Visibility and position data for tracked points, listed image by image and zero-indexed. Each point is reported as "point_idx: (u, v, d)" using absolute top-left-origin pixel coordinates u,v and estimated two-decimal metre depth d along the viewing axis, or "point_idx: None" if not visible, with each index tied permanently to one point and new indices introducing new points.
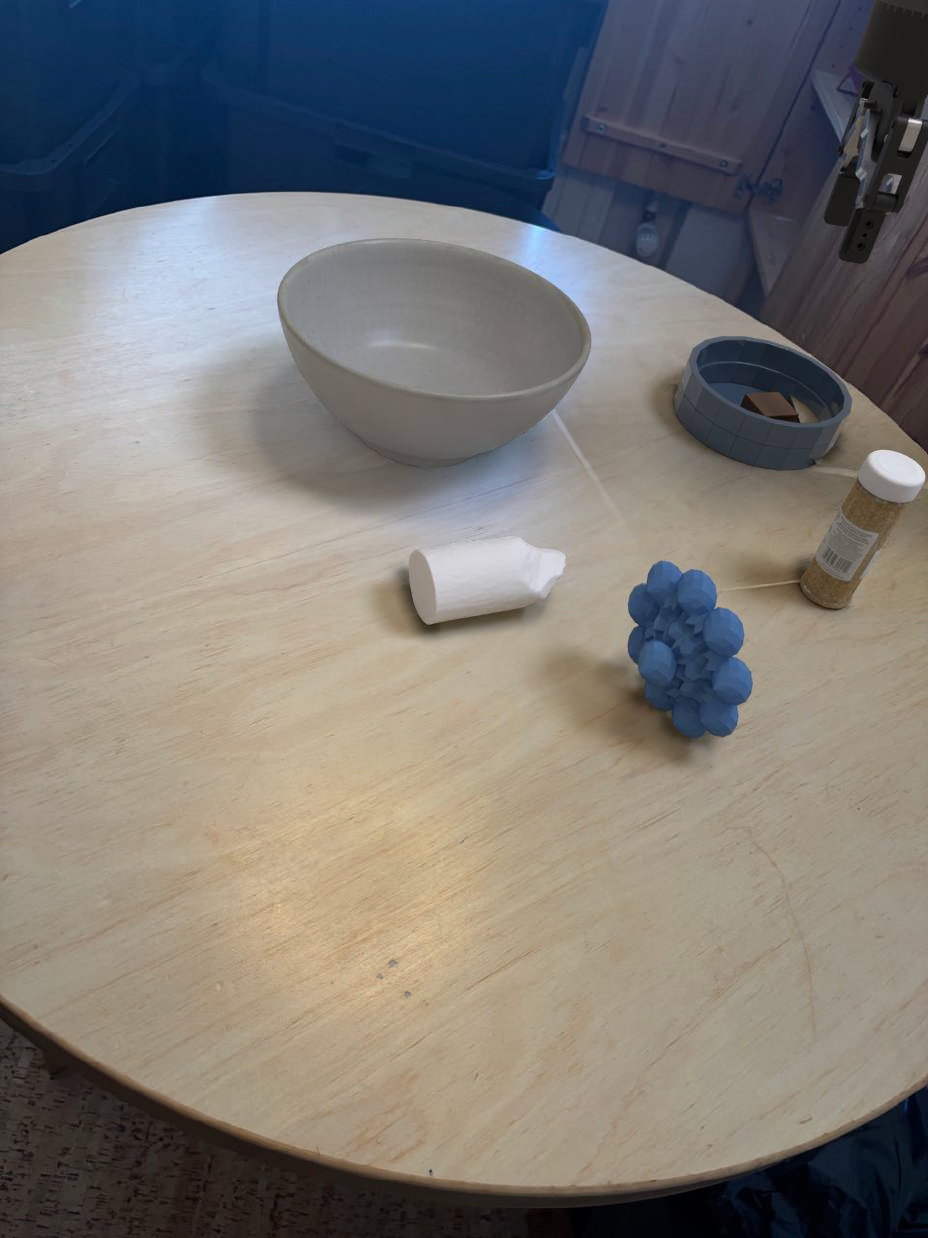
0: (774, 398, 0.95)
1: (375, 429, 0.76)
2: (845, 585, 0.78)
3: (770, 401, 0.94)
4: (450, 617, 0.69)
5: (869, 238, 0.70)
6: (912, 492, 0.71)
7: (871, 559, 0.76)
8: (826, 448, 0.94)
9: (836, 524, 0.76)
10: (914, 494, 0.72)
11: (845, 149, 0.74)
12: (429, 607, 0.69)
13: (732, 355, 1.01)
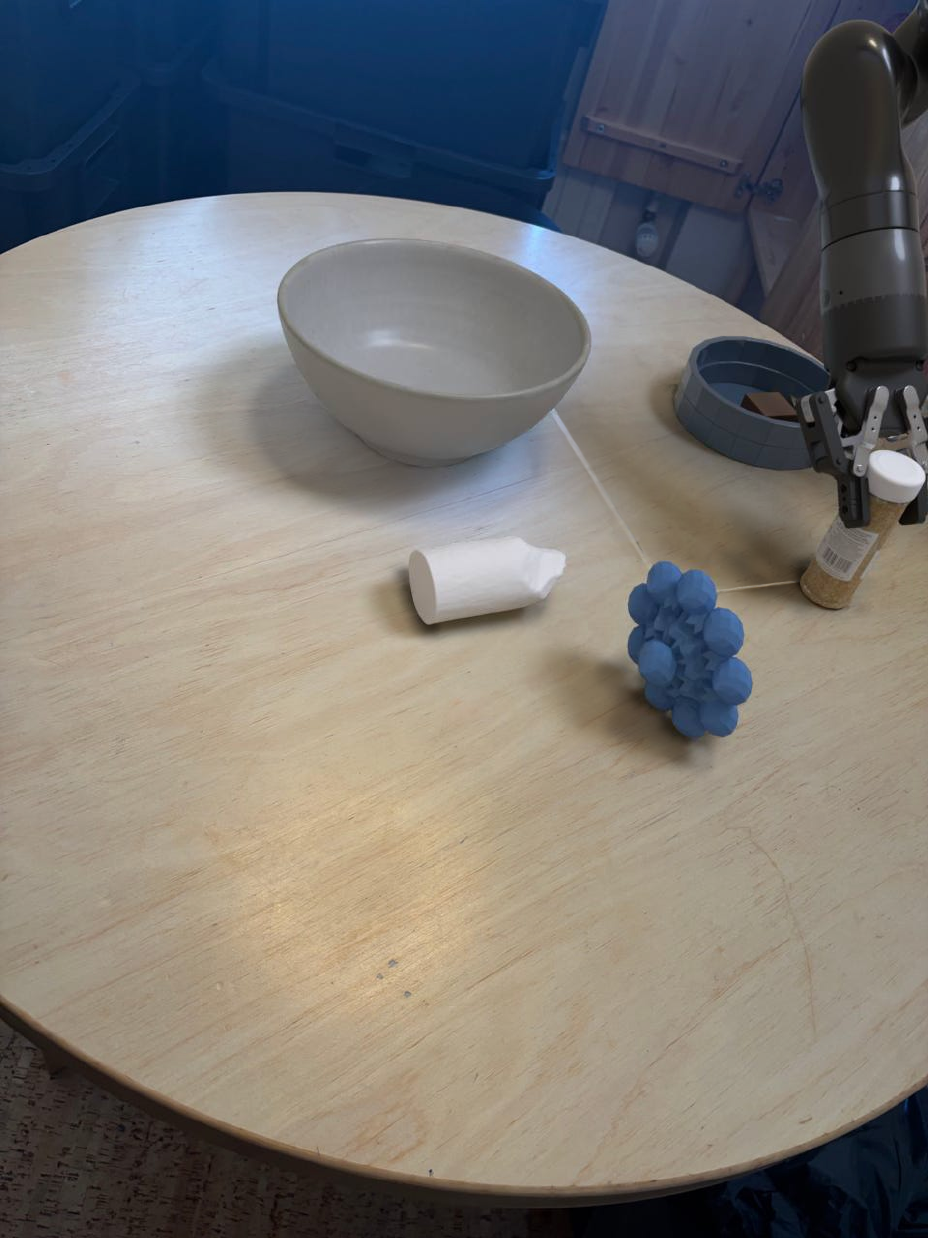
0: (774, 398, 0.95)
1: (375, 429, 0.76)
2: (845, 586, 0.78)
3: (770, 401, 0.94)
4: (450, 617, 0.69)
5: (848, 500, 0.72)
6: (912, 492, 0.71)
7: (871, 559, 0.76)
8: None
9: (836, 524, 0.76)
10: (914, 494, 0.72)
11: (885, 447, 0.76)
12: (430, 607, 0.69)
13: (732, 355, 1.01)
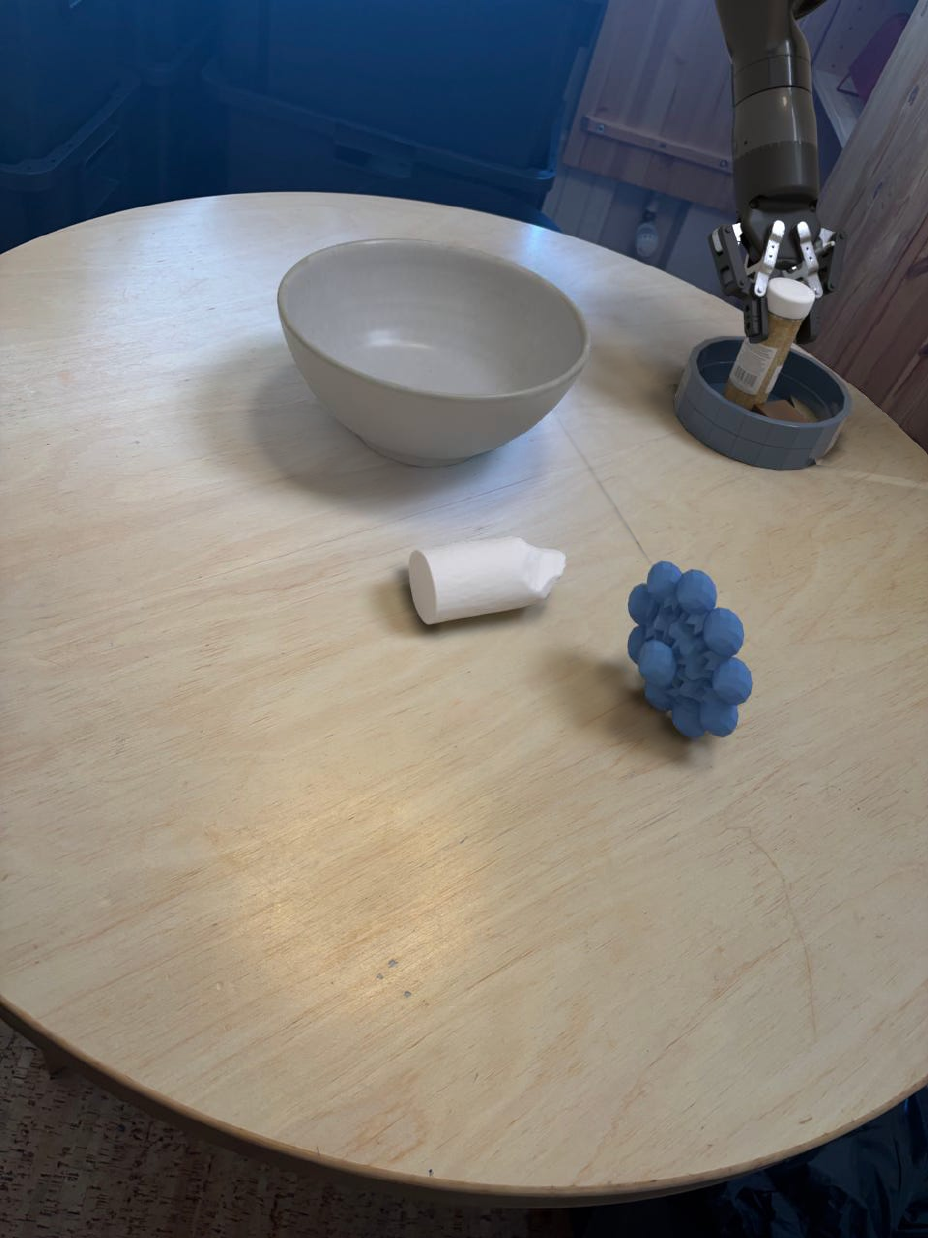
0: (783, 407, 0.94)
1: (375, 429, 0.76)
2: (753, 399, 0.93)
3: (779, 410, 0.93)
4: (450, 617, 0.69)
5: (750, 317, 0.87)
6: (802, 309, 0.86)
7: (773, 374, 0.91)
8: (826, 448, 0.94)
9: (744, 344, 0.91)
10: (805, 311, 0.86)
11: None
12: (430, 607, 0.69)
13: (732, 355, 1.01)
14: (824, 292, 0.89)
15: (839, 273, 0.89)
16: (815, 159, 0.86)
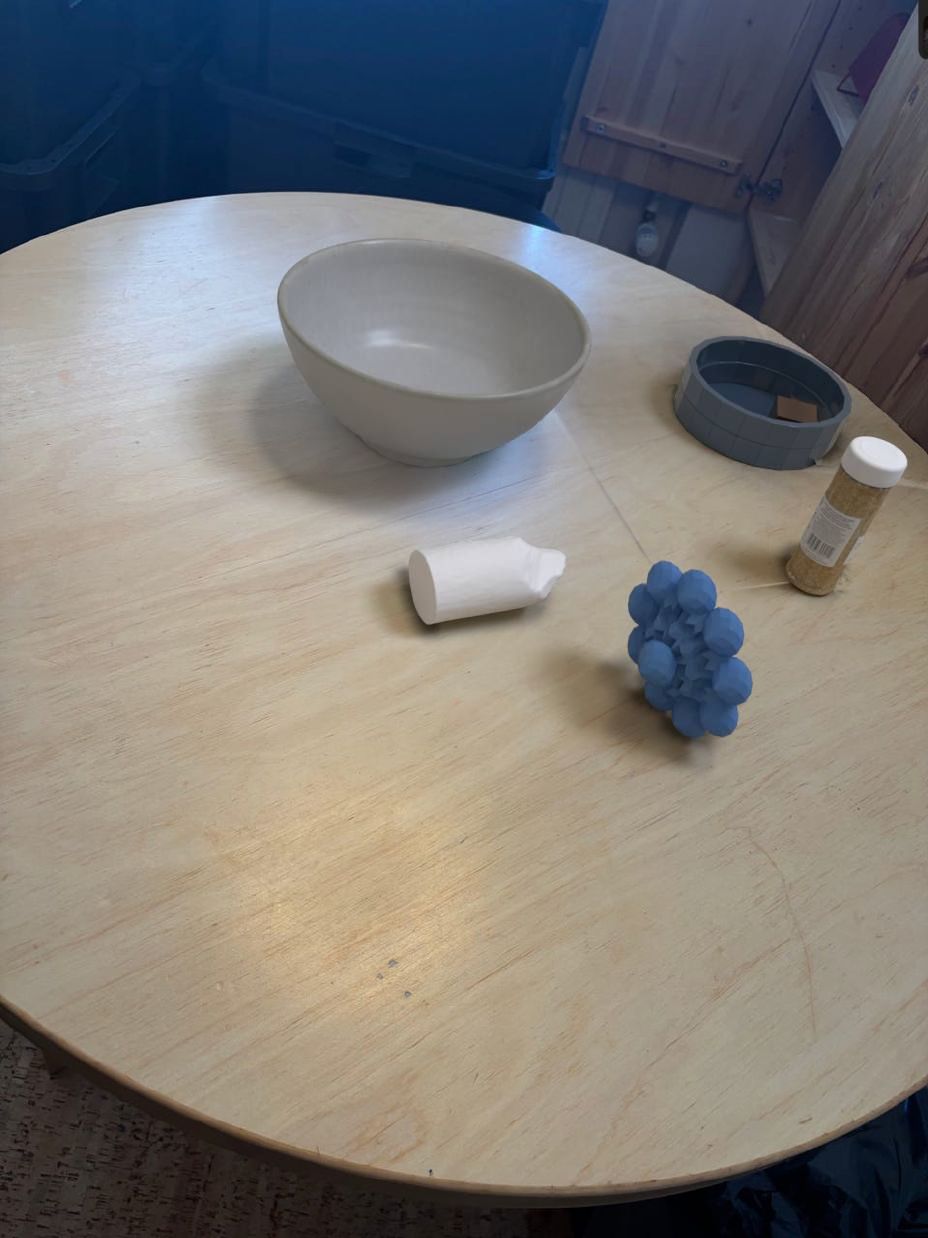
0: (805, 407, 0.94)
1: (375, 429, 0.76)
2: (828, 571, 0.79)
3: (796, 408, 0.94)
4: (450, 617, 0.69)
5: None
6: (893, 477, 0.72)
7: (854, 545, 0.77)
8: (826, 448, 0.94)
9: (819, 510, 0.77)
10: (895, 479, 0.73)
11: None
12: (429, 607, 0.69)
13: (732, 355, 1.01)
14: None
15: None
16: None
